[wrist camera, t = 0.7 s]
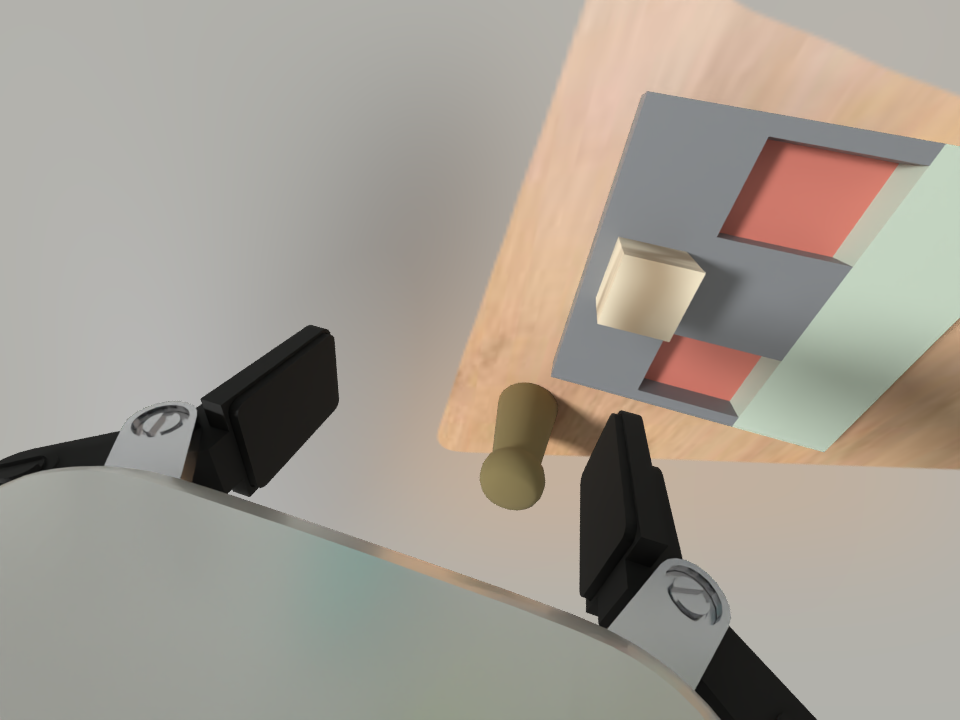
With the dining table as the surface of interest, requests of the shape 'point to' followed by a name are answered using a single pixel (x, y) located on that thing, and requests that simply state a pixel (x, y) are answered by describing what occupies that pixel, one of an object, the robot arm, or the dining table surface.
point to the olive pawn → (519, 447)
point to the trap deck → (775, 267)
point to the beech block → (647, 288)
